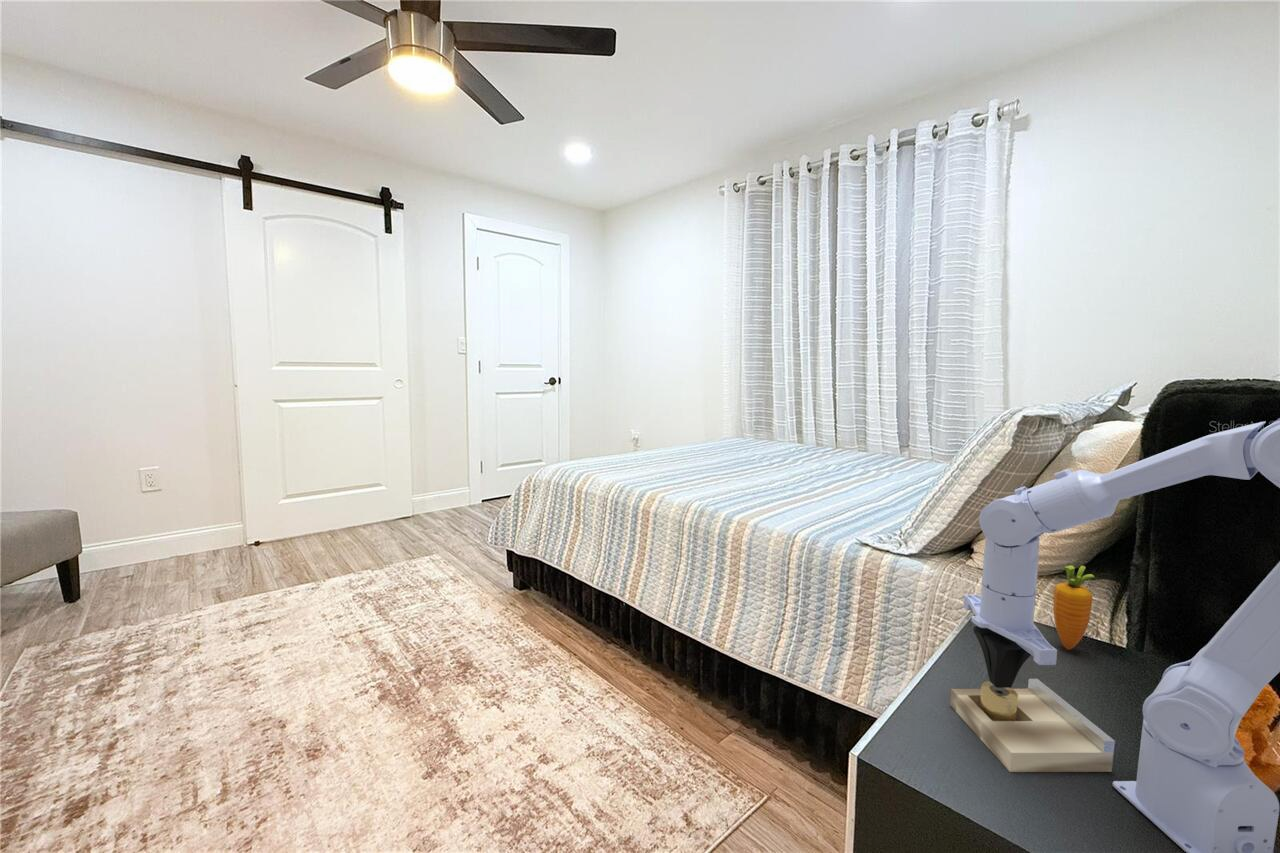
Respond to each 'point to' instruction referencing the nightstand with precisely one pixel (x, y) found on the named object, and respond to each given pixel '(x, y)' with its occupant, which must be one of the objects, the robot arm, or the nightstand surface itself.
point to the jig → (1038, 732)
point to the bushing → (998, 702)
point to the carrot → (1072, 607)
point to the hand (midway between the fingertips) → (1000, 684)
